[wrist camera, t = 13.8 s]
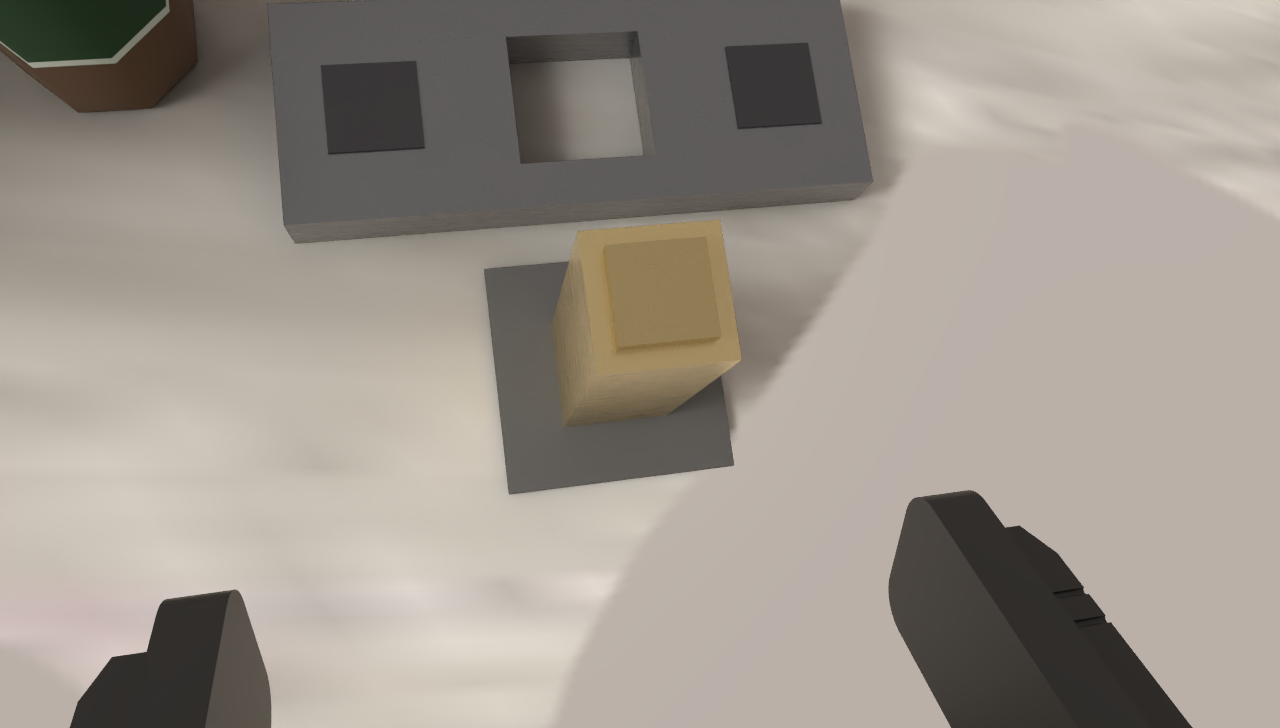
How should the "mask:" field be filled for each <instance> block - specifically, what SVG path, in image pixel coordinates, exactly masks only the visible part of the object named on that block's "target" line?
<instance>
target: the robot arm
mask: <svg viewBox="0 0 1280 728" xmlns="http://www.w3.org/2000/svg"><path fill="white" fill-rule="evenodd" d="M1083 588H1084V587H1083V586H1082V585H1081V583H1080V582H1079V581H1078V579H1077V578H1076V577H1075V576H1074V574H1073V573H1072V572H1071V570H1070V569H1069V568H1068V567H1067V565H1066V564H1065V563H1064V561H1063V560H1062V559H1061V557H1060V556H1059V555H1058V554H1057V553H1056V552H1055V551H1054V550H1052V549H1051V548H1049V547H1048V546H1046V545H1045V544H1044V543H1042V542H1041V541H1040V540H1038V539H1037V538H1036V537H1034V536H1033V535H1031V534H1030V533H1028V532H1027V531H1026V530H1025V529H1023V528H1022V527H1021V526H1014V527H1007V528H1005V527H1004V526H1003V525H1002V523H1001V522H1000V520H999V519H998V518H997V516H996V515H995V514H994V512H993V511H992V510H991V508H990V507H989V505H988V504H987V503H986V502H985V500H984V499H983V498H982V497H981V496H980V495H979V494H978V493H976V492H974V491H971V490H968V491H960V492H953V493H946V494H939V495H932V496H924V497H917V498H914V499H912V501H911V502H910V503H909V505H908V507H907V510H906V514H905V518H904V522H903V527H902V530H901V534H900V539H899V542H898V546H897V550H896V554H895V559H894V562H893V566H892V570H891V574H890V579H889V601H890V606H891V611H892V615H893V617H894V621H895V623H896V626H897V628H898V630H899V632H900V634H901V636H902V637H903V639H904V641H905V643H906V645H907V647H908V648H909V650H910V652H911V654H912V656H913V658H914V660H915V662H916V663H917V665H918V667H919V669H920V671H921V673H922V674H923V676H924V678H925V680H926V682H927V684H928V686H929V687H930V689H931V691H932V693H933V695H934V697H935V698H936V700H937V702H938V704H939V706H940V708H941V710H942V711H943V713H944V715H945V717H946V719H947V721H948V722H949V724H950V726H951V728H1192V727H1191V725H1190V724H1189V723H1188V722H1187V720H1186V719H1185V718H1184V716H1183V715H1182V714H1181V713H1180V711H1179V710H1178V709H1177V707H1176V706H1175V705H1174V703H1173V702H1172V701H1171V700H1170V698H1169V697H1168V696H1167V694H1166V693H1165V692H1164V691H1163V689H1162V688H1161V687H1160V685H1159V684H1158V683H1157V682H1156V680H1155V679H1154V678H1153V676H1152V675H1151V674H1150V673H1149V671H1148V670H1147V669H1146V668H1145V666H1144V665H1143V663H1142V662H1141V661H1140V660H1139V658H1138V657H1137V656H1136V654H1135V653H1134V652H1133V651H1132V649H1131V648H1130V647H1129V645H1128V644H1127V643H1126V642H1125V640H1124V639H1123V638H1122V636H1121V635H1120V634H1119V632H1118V631H1117V630H1116V628H1115V627H1114V626H1113V625H1112V623H1107V622H1106V620H1105V614H1104V613H1103V612H1102V611H1101V609H1100V608H1099V607H1098V605H1097V604H1096V603H1095V601H1094V600H1093V599H1092V598H1091V596H1090V595H1089V594H1085V593H1084V590H1083ZM70 728H271V695H270V687H269V681H268V676H267V672H266V669H265V666H264V663H263V660H262V657H261V654H260V650H259V647H258V644H257V641H256V638H255V635H254V632H253V629H252V626H251V623H250V620H249V617H248V613H247V610H246V607H245V604H244V601H243V599H242V596H241V594H240V593H239V591H237V590H230V591H223V592H215V593H208V594H201V595H194V596H186V597H179V598H172V599H166V600H164V601H163V602H162V603H161V604H160V606H159V609H158V611H157V614H156V618H155V622H154V626H153V630H152V634H151V637H150V641H149V645H148V649H147V652H144V653H137V654H130V655H123V656H117V657H112V658H111V659H110V661H109V662H108V663H107V665H106V666H105V667H104V669H103V670H102V671H101V672H100V674H99V675H98V676H97V678H96V679H95V680H94V682H93V683H92V684H91V686H90V687H89V688H88V690H87V691H86V692H85V693H84V695H83V696H82V697H81V699H80V700H79V701H78V703H77V707H76V710H75V713H74V716H73V719H72V723H71V726H70Z"/></svg>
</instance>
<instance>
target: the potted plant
mask: <svg viewBox="0 0 1280 728" xmlns="http://www.w3.org/2000/svg"><path fill="white" fill-rule="evenodd" d="M0 50H1V51H2V52H3V53H4V54H5V55H7V56H8V57H9V58H10V59H11V60H12V61H14V62H15V63H16V64H17V65H18V66H19V67H20V68H22V69H23V70H24V71H25V72H26V73H28V74H29V75H30V76H32V77H33V78H34V79H36V80H37V81H38V82H40V83H41V84H42V85H43V86H45V87H46V88H47V89H49V90H50V91H51V92H53V93H54V94H55V95H57V96H58V97H59V98H60V99H62V100H63V101H64V102H66V103H67V104H68V105H70V106H71V107H72V108H74V109H75V110H76V111H77V112H97V111H113V110H129V109H145V108H152V107H153V106H154V105H155V104H156V103H157V102H158V101H159V100H160V99H161V98H162V97H163V96H164V95H165V94H166V93H167V92H168V91H169V90H170V89H171V88H172V87H173V86H174V85H175V84H176V83H177V82H179V81H180V80H181V79H182V78H183V77H184V76H185V75H186V74H187V73H188V72H189V71H190V70H191V69H192V68H193V67H194V66H195V65H196V63H197V50H196V37H195V23H194V10H193V1H192V0H0Z"/></svg>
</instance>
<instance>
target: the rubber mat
mask: <svg viewBox="0 0 1280 728" xmlns="http://www.w3.org/2000/svg"><path fill="white" fill-rule="evenodd" d="M568 264H569V262H561V263H549V264H538V265H526V266H514V267H503V268H491V269H484V272H485V281H486V290H487V299H488V308H489V317H490V326H491V335H492V345H493V354H494V363H495V372H496V381H497V390H498V399H499V408H500V417H501V426H502V435H503V444H504V453H505V463H506V472H507V481H508V490H509V494H516V493H523V492H531V491H539V490H547V489H555V488H563V487H571V486H578V485H586V484H594V483H602V482H610V481H618V480H626V479H633V478H641V477H649V476H657V475H665V474H673V473H681V472H688V471H696V470H704V469H711V468H720V467H727V466H733V465H734V461H733V454H732V447H731V441H730V434H729V427H728V421H727V414H726V407H725V401H724V394H723V387H722V381H721V376H719V377H718V378H717V379H715V380H714V381H713V382H711V383H710V384H708V385H707V386H706V387H704V388H703V389H702V390H700V391H699V392H698V393H696V394H695V395H693V396H692V397H691V398H689V399H688V400H687V401H685V402H684V403H682V404H681V405H680V406H678V407H677V408H676V409H674V410H673V411H672V412H670V413H669V414H667V415H665V416H656V417H648V418H639V419H631V420H622V421H614V422H605V423H597V424H588V425H580V426H571V427H564V425H563V417H562V409H561V401H560V392H559V384H558V376H557V368H556V360H555V352H554V343H553V335H552V327H551V324H552V321H553V317H554V314H555V310H556V307H557V303H558V300H559V296H560V292H561V289H562V285H563V282H564V278H565V275H566V271H567V268H568Z"/></svg>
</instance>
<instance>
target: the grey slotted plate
mask: <svg viewBox="0 0 1280 728" xmlns="http://www.w3.org/2000/svg"><path fill="white" fill-rule="evenodd" d="M267 6H268V20H269V33H270V46H271V60H272V73H273V87H274V100H275V114H276V127H277V141H278V154H279V168H280V181H281V194H282V208H283V221H284V227H285V228H286V230H287V231H288V233H289V234H290V236H291V237H292V239H293V241H294V242H295V243H307V242H320V241H333V240H346V239H359V238H372V237H384V236H397V235H410V234H423V233H436V232H449V231H461V230H474V229H487V228H500V227H513V226H526V225H538V224H551V223H564V222H577V221H590V220H603V219H616V218H628V217H641V216H654V215H667V214H680V213H693V212H705V211H718V210H731V209H744V208H757V207H770V206H782V205H795V204H808V203H821V202H834V201H847V200H854V199H855V198H856V197H857V196H858V195H859V194H860V193H861V192H863V191H864V190H865V189H866V188H867V187H868V186H869V185H870V184H871V183H872V182H873V179H872V173H871V168H870V163H869V157H868V152H867V146H866V141H865V135H864V130H863V124H862V119H861V114H860V108H859V103H858V97H857V92H856V86H855V81H854V75H853V70H852V65H851V59H850V54H849V48H848V43H847V37H846V32H845V26H844V21H843V16H842V10H841V5H840V0H369V1H340V2H312V3H283V4H267ZM629 57H630V61H631V68H632V75H633V82H634V89H635V96H636V103H637V110H638V117H639V124H640V131H641V138H642V145H643V152H644V156H630V157H615V158H600V159H585V160H570V161H555V162H540V163H525V164H521V161H520V153H519V145H518V136H517V128H516V119H515V111H514V103H513V94H512V86H511V77H510V69H509V63H524V62H545V61H566V60H587V59H608V58H629Z"/></svg>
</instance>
